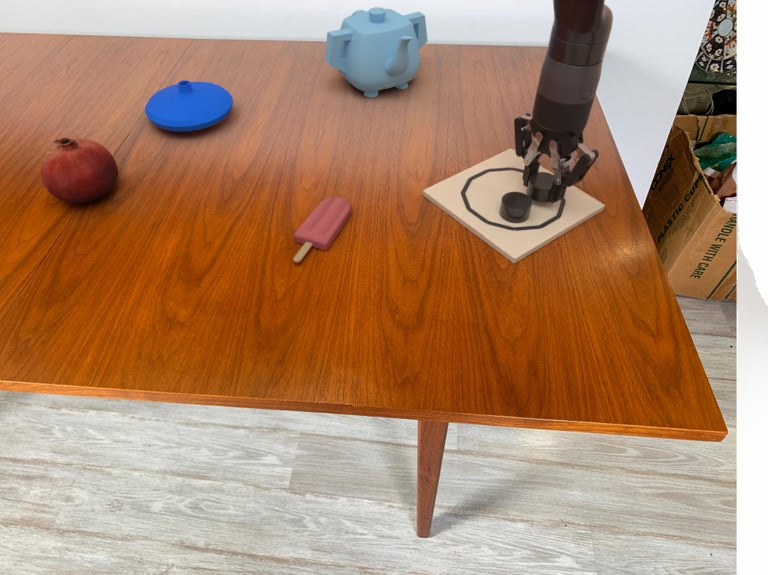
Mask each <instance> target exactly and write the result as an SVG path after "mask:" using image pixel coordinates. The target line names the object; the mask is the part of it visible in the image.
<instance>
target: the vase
mask: <svg viewBox="0 0 768 575" xmlns="http://www.w3.org/2000/svg"><path fill="white" fill-rule="evenodd" d="M233 104H234V100H233V96H232V94H231V93H230V92H229V91H228V90H227V89H225V87H223V86H221V85H219V84H216V83H213V82H207V81H190V80H187V79H183V80H179V81H178V82H177V83H176V84H172V85H168V86H166V87H164V88H161V89H160V90H158V91H156V92H155V93H153V94H152V95H151V96H150V97H149V99H148V101H147V102H146V104H145V107H144V114H145V115H146V117H147V118H148V120H149V121H150V122H151V124H152V125H154V126H155V127H156V128H160V129H162V130H165V131H171V132H194V131H199V130H203V129H207V128H209V127H212V126H214V125H216V124H219V123H221V122H222V121H223V120H225V119H226V118H227V117H228V116H229V115H230V113H231V111H232V109H233Z"/></svg>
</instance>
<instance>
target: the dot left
mask: <svg viewBox="0 0 768 575" xmlns="http://www.w3.org/2000/svg"><path fill="white" fill-rule="evenodd" d="M531 207H532V200H531V198H530V197H529V196H528V195H526V194H524V193H521V192H509V193H506V194H505V195H503V197H502V200H501V205H500V211H499V214H500V216H501V217H502V218H503V219H504V220H505V221H508V222H511V223H522V222H525V221H526V220H528V218H529V216H530V211H531Z"/></svg>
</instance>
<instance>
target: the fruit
mask: <svg viewBox="0 0 768 575" xmlns="http://www.w3.org/2000/svg"><path fill="white" fill-rule="evenodd" d="M53 143H54V145H52V146H51V147H50V149H49V150H48V151H47V153H46V154H45V155H44V156H43V157H42V158H43V159H42V161H41V165H40V176H41V183H42V184H43V186H44V188H45V189H46V190H47V191H48V193H49V194H50V195H51V196H53V197H54V198H56V199H58V200H60V201H61V200H62V201H65V202H67V203H70V204H71V203H72V204H87V203H90V202H92V201H95V200H98V199H99V198H101V197H103V196H104V195H105V194H107V193H108V192H109V191H111V190H113V188H114V187H115V185H116V182H117V180H118V177H119V167H118V164H117V161H116V159H115V158H114V156H113V154H112V153H111V151H109V149H108V148H106V147H105V146H103V144H101V143H99V142H97V141H95V140H92V139H88V138H74V139H73V138H69V137H61V138H60V139H59V138H58V139H55V140H53Z"/></svg>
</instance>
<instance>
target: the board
mask: <svg viewBox="0 0 768 575" xmlns="http://www.w3.org/2000/svg"><path fill="white" fill-rule="evenodd" d="M524 167H525V164H524V159H523V158H522V157H518V156H517V155H516V151H515V149H513V148H512V147H510V148H508V149H506V150H504V151H502V152H499V153H498V154H496V155H494V156H491V157H489V158H487V159H485V160H483V161H481V162H479V163H476V164H474V165H472V166H470V167H468V168H466V169H464V170H462V171H460V172H458V173H456V174H453V175H452V176H450V177H448V178H445V179H444V180H441V181H439V182H437V183H434V184H433V185H430V186H429V187H427V188H424V189H423V190H422V196H423V197H424V198H425V199H427V200H428V201H429V202H431V203H432V204H434V205H435V206H436V207H437V208H439V209H440V210H441V211H442V212H444V213H445V214H447V215H448V216H450V218H452V219H454V221H456V222H457V223H459V224H460V225H461V226H463V227H464V228H466V229H467V230H468V231H469V232H471V233H472V234H473V235H475V236H476V237H477V238H479V239H480V240H481V241H483V242H484V243H485V244H487V245H488V246H490V247H491V248H492V249H493V250H495V251H496V252H497V253H498V254H500V255H502V256H503V257H504V258H505V259H507V260H508V261H509V262H511V263H512V264H516V263H518V262H519V261H521V260H523V259H524V258H527V257H528V256H529V255H531V254H533V253H535V252H536V251H538V250H539V249H541V248H543V247H545V246H546V245H548V244H549V243H551V242H553V241H555V240H556V239H558V238H559V237H561V236H563V235H564V234H566V233H568V232H570V231H571V230H573V229H574V228H576V227H577V226H580V225H581V224H583V223H584V222H586V221H588V220H589V219H591V218H593V217H595V216H597V215H599V213H601V212H603V211H604V210H605V207H606V204H604V203H603V202H601V201H599V200H598V199H596V198H595V197H593V196H591V195H589V194H588V193H586V192H585V191H584V190H582V189H580V188H578V187H576V186H575V185H572V186H571V187H567V188H566V192H565V196H564V197H563V198H562V199H561V200H559V201H557V202H555V203H553V204H552V203H551V202H547V203H540V202H536V201H534V200H532V199H531V200H532V207H531V211H530V216H529V218H528V220H526V221H525V222H522V223H511V222H508V221H505V220H504V219H503V218H502V217H501V216H500V214H499V211H500V205H501V200H502V197H503V195H505V194H506V193H509V192H521V193H524V194H526V195H527V193H526V191H527V187H525V186H524V185H523V182H524V181H523V179H522V177H523V172H524ZM538 172H546V173H550V174H553V175H554V172H552V171H550V170H548V169H547V168H545V167H543V166H542V165H540V166H539V171H538Z"/></svg>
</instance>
